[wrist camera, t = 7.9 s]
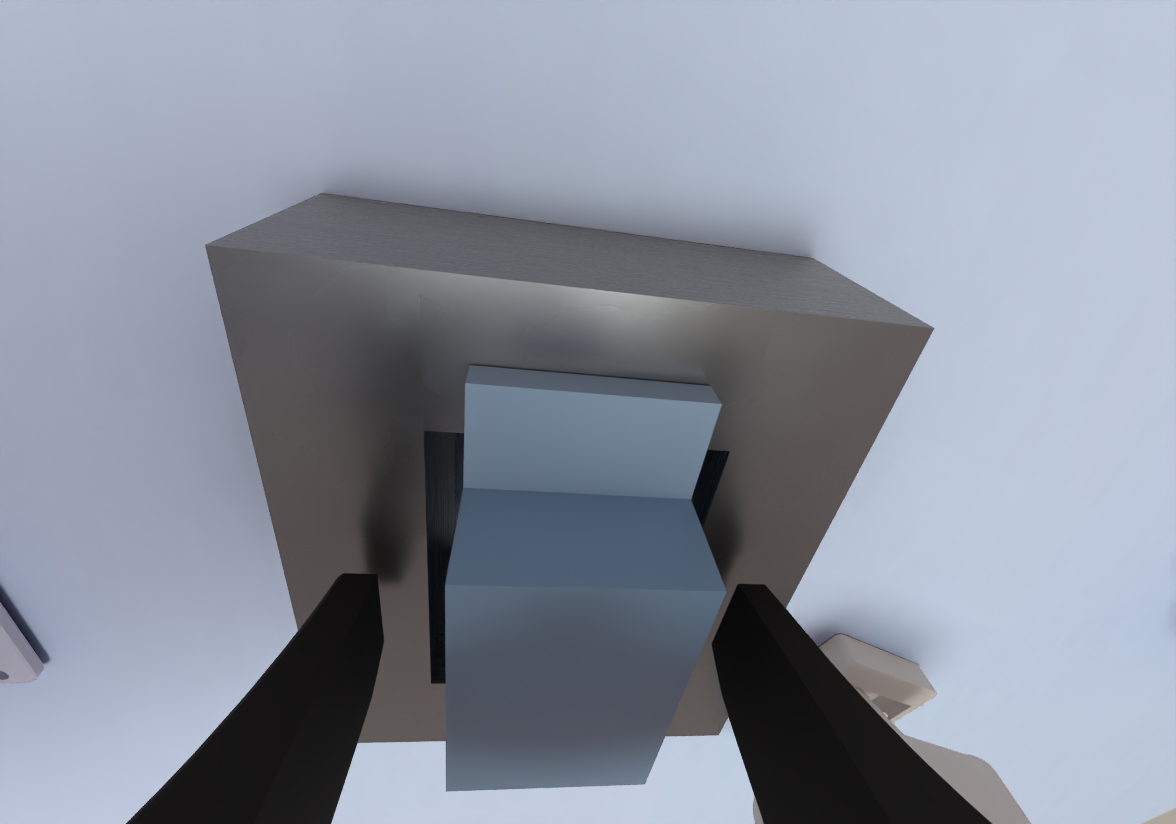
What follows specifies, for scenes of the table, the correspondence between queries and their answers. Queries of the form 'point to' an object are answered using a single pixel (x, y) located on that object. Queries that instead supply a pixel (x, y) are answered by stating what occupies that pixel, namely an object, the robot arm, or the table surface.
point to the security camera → (896, 694)
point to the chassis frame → (540, 343)
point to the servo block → (574, 577)
